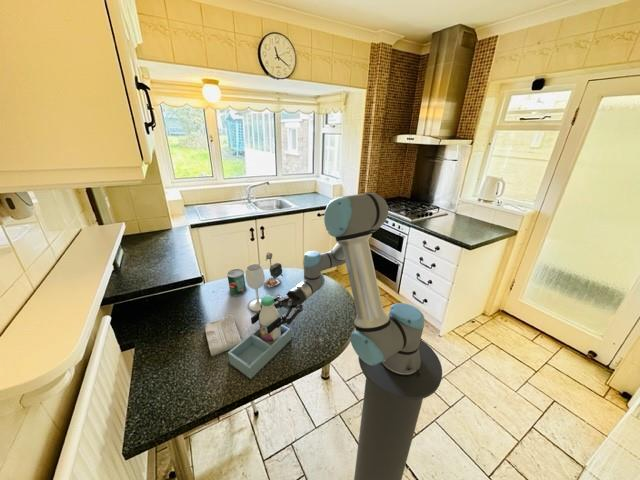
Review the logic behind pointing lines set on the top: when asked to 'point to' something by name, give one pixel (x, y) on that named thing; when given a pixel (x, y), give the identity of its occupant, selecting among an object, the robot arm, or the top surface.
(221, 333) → the washcloth
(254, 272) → the wineglass
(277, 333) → the milk bottle
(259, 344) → the divided tray
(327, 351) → the top surface
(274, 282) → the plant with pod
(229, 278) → the canned tomato
